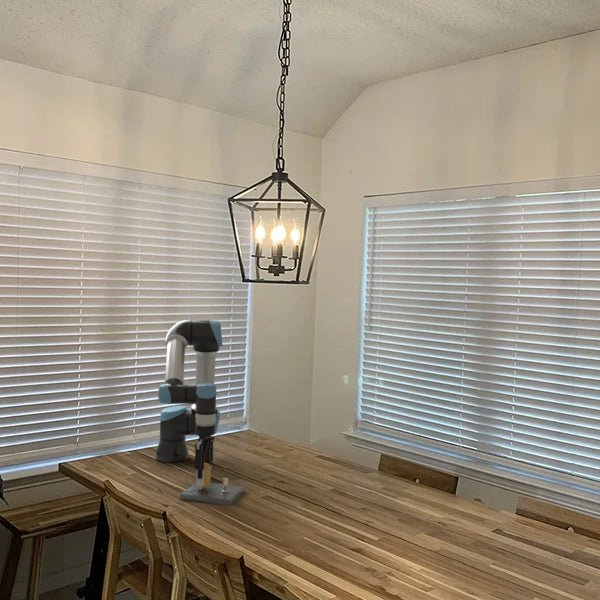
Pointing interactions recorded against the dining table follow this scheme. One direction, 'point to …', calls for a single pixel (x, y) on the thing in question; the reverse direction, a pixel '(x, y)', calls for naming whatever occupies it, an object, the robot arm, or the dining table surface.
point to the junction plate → (213, 493)
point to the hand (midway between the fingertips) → (203, 484)
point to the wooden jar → (206, 475)
